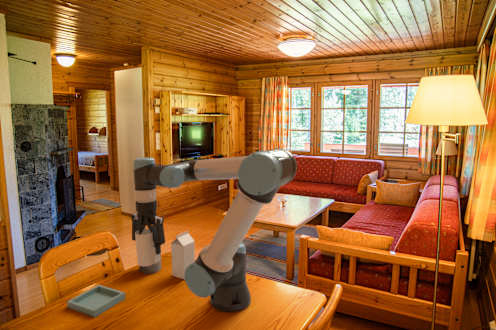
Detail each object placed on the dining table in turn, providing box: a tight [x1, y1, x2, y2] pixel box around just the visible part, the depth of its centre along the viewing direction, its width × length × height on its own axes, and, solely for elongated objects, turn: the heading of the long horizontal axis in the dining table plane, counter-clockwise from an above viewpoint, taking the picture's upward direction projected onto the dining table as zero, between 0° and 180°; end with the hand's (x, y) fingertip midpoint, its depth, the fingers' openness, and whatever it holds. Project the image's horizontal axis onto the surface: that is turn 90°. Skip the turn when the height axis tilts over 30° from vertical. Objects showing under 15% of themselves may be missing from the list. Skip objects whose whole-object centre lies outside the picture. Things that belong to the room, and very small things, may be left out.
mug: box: [135, 228, 154, 266], centre depth 129 cm, size 10×7×12 cm, turn 170°
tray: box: [66, 284, 126, 318], centre depth 129 cm, size 14×14×2 cm
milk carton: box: [170, 230, 196, 281], centre depth 151 cm, size 7×7×19 cm
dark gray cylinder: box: [138, 252, 162, 275], centre depth 157 cm, size 10×10×15 cm
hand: (149, 260), depth 130 cm, fingers closed on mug, 6 cm apart
